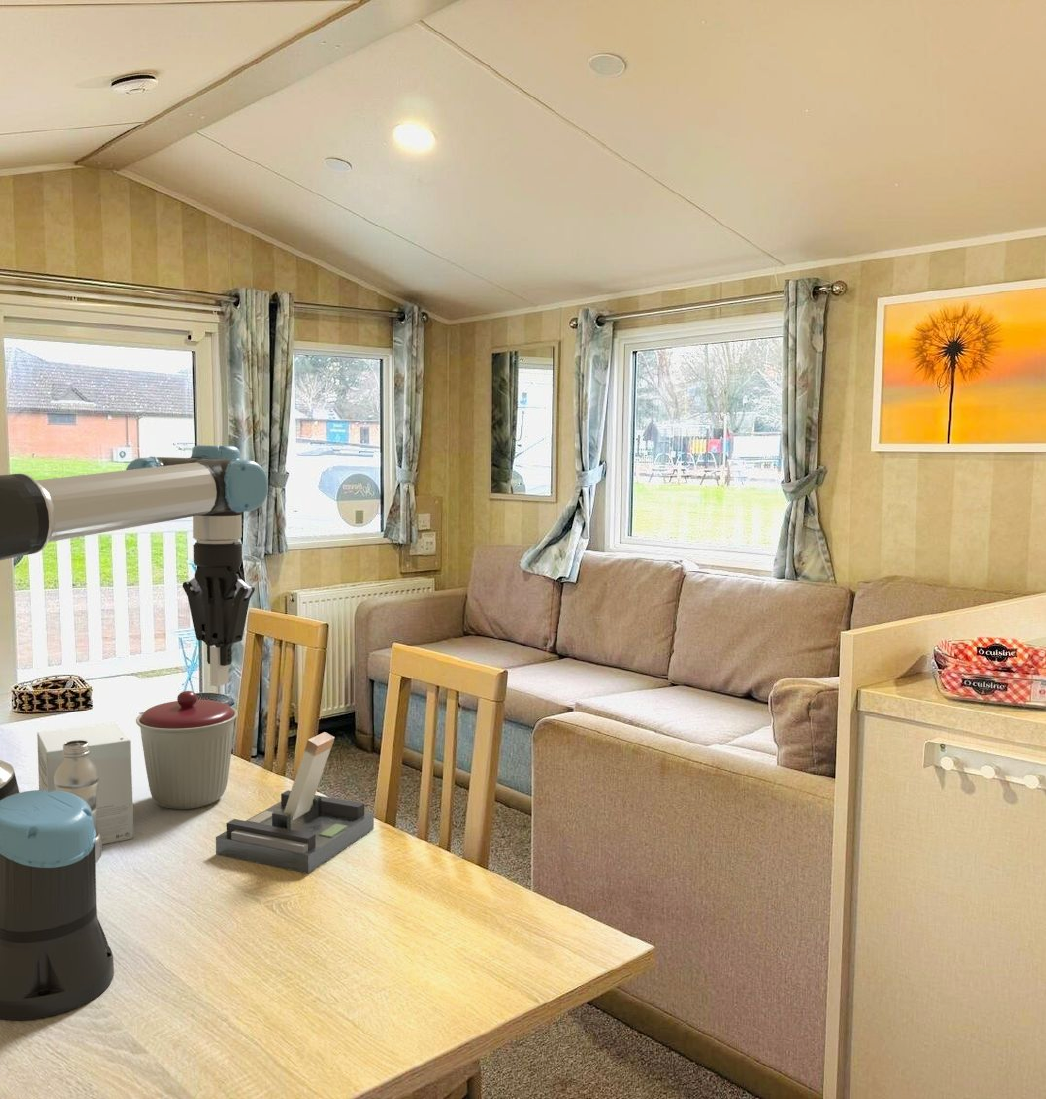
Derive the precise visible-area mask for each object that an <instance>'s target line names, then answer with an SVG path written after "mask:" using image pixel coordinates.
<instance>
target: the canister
mask: <svg viewBox="0 0 1046 1099" xmlns="http://www.w3.org/2000/svg"><path fill="white" fill-rule="evenodd" d="M238 715H239V714H238V711H237V709H235V708H234V707H232V706H230V705H228V704H227V703H225V702H222V701H217V700H211V699H210V700H209V699H198V696H197V694H196V693H195V692H194V691H192V690H185V691H181V692H180V693H179V694H178V695H177V699H176V700H175V701H169V702H164V703H160V704H158V705H154V706H152V707H150V708H148V709H147V710H145V711H144V712H142V713H141V714H139V715H138V716H137V717H136V718H135V723H136V725H137V726H138V727H139V728H140V729H139V730H140V736H141V743H142V751H143V757H144V758H143V759H144V766H145V771H146V775H147V777H146V778H147V781H148V788H149V792H150V795H151V797H152V799H153V800H154V802H155V803H156V804H157V805H159V806H161V807H162V808H166V809H172V810H187V809H190V810H191V809H197V808H201V807H206V806H208V805H211V804H213V803H215V802H217V801H218V800H220V799H221V798H222V797H223V795H224V794H225V792H226V790H227V787H228V782H229V774H230V764H231V757H232V745H233V735H234V724H235V719H237V717H238Z"/></svg>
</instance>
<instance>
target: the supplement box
mask: <svg viewBox="0 0 1046 1099" xmlns="http://www.w3.org/2000/svg"><path fill="white" fill-rule="evenodd" d="M36 736H37V762H38V763H37V764H38V765H37V766H38V768H37V769H38V771H37V772H38V790H46V791H47V792H52V791H55V790H56V788H55V783H54V776H55V772H56V770H57V769H58V767H59V766H60V764H61V763H62V762H63V760H64V758H65V757H63V756H62V753H63V744H64V743H66V742H69V741H74V740H85V741H88V743H89V754H88V755H87V756H88V758H89V759H90V760H91V761H92V762H93V763H94V765H95V766H96V767H97V770H98V773H99V780H98V789H97V806H96V808H97V811H96V815H97V822H98V830H99V834H100V838H101V842H102V845H105V844H106V845H107V844H111V843H116V842H122V841H128V840H132V839H134V811H133V806H134V804H133V782H132V777H133V776H132V748H131V746H132V745H131V742H132V741H131V740H130V738H129V737H128V736H127V735H126V733H125V732H124V731H123V729H121V727H120V726H119V724H118V723H117V722H116V721H112V722H107V723H106V722H105V723H98V724H91V725H83V726H78V727H77V726H76V727H68V728H61V729H55V730H46V731H37V734H36Z"/></svg>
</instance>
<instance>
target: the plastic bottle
mask: <svg viewBox="0 0 1046 1099" xmlns="http://www.w3.org/2000/svg"><path fill="white" fill-rule="evenodd" d="M88 754H89V743H88V741H85V740H74V741H69V742H66V743H64V744H63V753H62V756H63V757H65V758H64V760H63V762H62V763H61V764H60V766H59V767H58V769H57V770H56V772H55V776H54V783H55V788H56V790H57V791H64V792H68V793H71V794H74V795H76V796H78V797H80V798H82V799H83V800H84V801H86V802H87V803H88V805H89V806H90V808H91V810H92V814H93V820H94V826H95V831H96V840H95V860H96V863H98V861H99V860H100V858H102V852H103V844H102V842H101V838H100V834H99V830H98V822H97V815H96V811H97V808H96V806H97V789H98V780H99V773H98V770H97V767H96V766H95V765H94V763H93V762H92V761H91V760H90V759H89V758H88V756H87V755H88Z"/></svg>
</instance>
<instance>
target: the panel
mask: <svg viewBox="0 0 1046 1099" xmlns="http://www.w3.org/2000/svg"><path fill="white" fill-rule="evenodd" d="M321 796H322V795H318V796H317V794H315V796H314V799H313V807H311V808H310V811H308V812H306V813H305V814H303V815H301V816H299V817H298V818H296V819H294V820H293V821H292V820H291V814H289V813H284V811H285V808H286V805H281V801H279V802H278V803H275V804H273V805H272V806H269V807H267V809H265V810H263V811H260V812H259V813H257V814H255V815H254V816H251V817H250V818H248V819H246V820H245V821H248V822H253V823H259V824H264V825H269V826H274V827H280V828H285V829H290V830H296V831H301V832H306V833H311V834H315V838H316V846H315V847H314V848H312V849H311V850H309V851H307V852H306V853H304V854H301V853H296V852H291V851H286V850H281V849H276V848H271V847H266V846H261V845H256V844H251V843H246V842H241V841H236V840H231V835H227V830H225V832H222V833H221V834H219V835H217V836H215V854H216V855H217V856H221V857H227V858H230V859H236V860H241V861H245V862H249V863H256V864H261V865H264V866H270V867H274V868H279V869H284V870H287V871H288V870H289V871H294V872H299V873H303V874H307V875H308V874H310V873H312V872H314V871H315V870H316V869H318V868H319V867H320V866H322V865H324V863H326V862H328V861H329V860H331V859H332V858H334V857H335V856H336V855H338V854H340V853H341V852H342V851H344V850H345V849H347V848H349V846H351V845H352V844H354V843H355V842H357V841H358V840H359V839H361V838H362V837H364V836H366V835H367V834H369V833H370V832H371V831H372V830H374V828H375V824H374V823H375V821H374V820H375V819H374V811H369V810H368V811H367V810H364V815H363V816H361V817H360V818H353V817H348V816H342V815H336V814H331V813H325V812H322V810H321Z"/></svg>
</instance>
